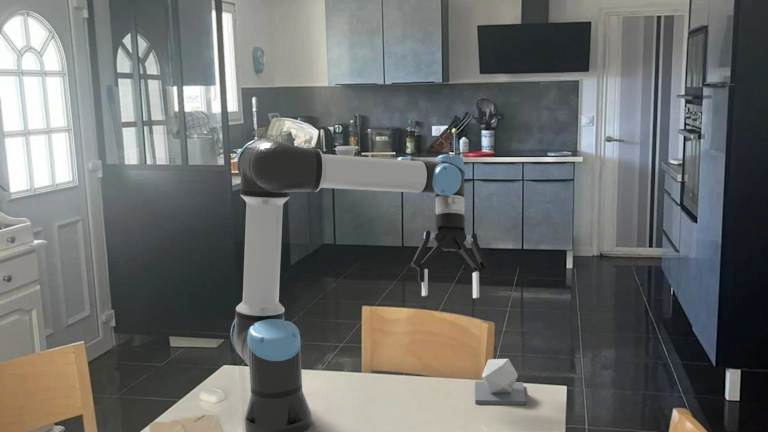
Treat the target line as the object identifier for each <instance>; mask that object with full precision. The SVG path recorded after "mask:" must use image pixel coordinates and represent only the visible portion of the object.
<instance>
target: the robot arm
mask: <svg viewBox="0 0 768 432" xmlns="http://www.w3.org/2000/svg"><path fill="white" fill-rule="evenodd" d="M236 159H237V160H236V167H237V169H236V170H237V172H238V175H239V177H240V185H239V186H240V191H239V193H240V194H239V196H240V197H241V198H242V199H243V200H244V201H245V203H246V208H245V231H244V233H245V236H244V260H243V280H242V281H243V284H242V286H243V287H242V301H241V302H240V303H239V304H238V305H236V307H235V318H234V320H233V322H232V324H231V328H230V341H231V343H232V346H233V349H234V350H235V352H236V353H237V354H238V356H240V357H241V358H242V360H244V362H245V363H246V364H247V366H248V368H249V369H248V370H249V383H250V397H249V401H248V404H247V408H246V412H245V415H244V430H245V431H246V432H305V431H306V430H307V429H308V428H310V427H311V425H312V413H311V412H312V411H311V409H310V406H309V404H308V402H307V398H306V396H305V392H304V391H303V378H302V375H303V373H302V353H301V350H302V348H301V345H302V341H301V340H302V339H301V336H300V331H299V328H298V326H296V325H295V324H294V323H293V322H291V321H288V320H285V310H286V309H285V307H284V306H283V305H282V304H281V303H280V300H279V298H280V279H281V277H280V276H281V275H280V274H281V258H282V257H281V255H282V236H283V235H282V234H283V211H284V210H283V209H284V204H285V203H286V202H287V201H288V200H289V199H290V198H291V197H290V196H291V193H294V192H296V193H298V192H311V193H314V192H315V193H317V192H318V191H319V190H320V189H321V188H323V189H326V188H327V189H341V190H343V189H345V190H360V191H361V190H362V191H363V190H365V191H367V190H368V191H380V192H381V191H384V192H386V191H387V192H399V193H400V192H401V193H402V192H404V193H405V192H406V193H419V194H420V193H421V194H434V195H435V214H436V215H435V231H434V232H432V231H430V230H426V231H424V232H423V235H422V241H421V243H420V245H419V247H418V249H417V251H416V253H415V255H414V257H413V259H412V261H411V263H410V267H411V268H415V269H416V270H417V280H418V283H421V297H427V296H428V294H429V289H428V288H429V287H428V286H429V285H428V284H429V283H428V282H429V280H428V278H429V276H428V274H429V271H428V269H429V268H428V269H427V268H426V266H428V264H429V263H430V262H431V261H433V258H434V257H435V256H436V255H437V254H438V253H439V251H441V250H443V251H452V252H456V251H458V253H459V254H461V255H462V256H463V258H464V259H465V260H466V262H467V263H468V264H469V265H470V267H471V268H472V270H473V271H474V272H472V299H478V298H480V286H481V285H483V273H484V271H487V270H489V269H490V265H489V263H488V260H487V259H486V256H485V254H484V251H483V250H482V248H481V246H480V244H479V242H478V236H477V233H475V232H473V233H472V234H466V232H465V231H466V224H465V223H466V221H465V220H466V216H465V215H464V214H465V213H466V212H465V211H466V210H465V174H466V173H465V163H464V159H463V157H462V156H460V155H457V154H441V155H439V156H436V158H435V161H433V160H432V161H431V160H428V159H427V160H426V159H420V158H414V157H410V156H409V157H407V156H400V157H398V158H396V159H393V158H381V157H380V158H379V157H365V156H352V155H340V154H339V155H338V154H327V153H326V154H325V153H323V152H322V151H321V150H320V149H317V148H310V147H309V148H308V147H302V146H300V145H299V146H297V145H294V144H292V143H288V142H285V141H282V140H281V141H280V140H275V139H272V138H265V137H264V138H258V139H257V138H256V139H254V140H251V141H248V143H246V144H245V145H244V146H243V147H242V148H241V150H240V151H239V153H238V155H237V158H236ZM433 239H434V240H435V242H436V245H434V247H433V249H431V251H430V252H429V253H428V254H427V255H426V256H425V258H424V259H423V260H422V261H421V259H422V257H423V255H424V254H425V251H426V248H427V247H428V245H429V243H430V242H431V241H432V240H433ZM466 241H467V242H468V243H469V244H470V248H471V249H472V251H473V253H474V255H475V257H474V256H473V254H472V253H471V251H470V250H469V249H468V247H467V245H466V244H465V242H466ZM420 261H421V262H420Z"/></svg>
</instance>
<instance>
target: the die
mask: <svg viewBox="0 0 768 432" xmlns="http://www.w3.org/2000/svg"><path fill="white" fill-rule="evenodd" d="M516 371H517V370H516V369H515V367H514V366H513V363H511V360H510V358H497V359H496V358H492V359H488V360H487V362H486V364H485V367H484V369H483V371H482V373H481V377H480V378H481V379H482V380H483V381H482V382H485V384H486V386H487V388H488V390H489V392H490V393H511V391H512V389H513V386H514V384H515V382H517V378H518V376H519V375H518V373H517V372H516Z"/></svg>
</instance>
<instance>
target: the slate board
mask: <svg viewBox="0 0 768 432" xmlns="http://www.w3.org/2000/svg"><path fill="white" fill-rule="evenodd" d="M474 394H475V395H474V397H475V399H474V401H475V405H507V406H508V405H511V406H512V405H518V406H519V405H520V406H521V405H523V406H526V405H527V400H526V399H527V398H526V393H525V388H524V381H515V384H514V386H513V389H512V391H511V393H490V392H489V390H488V388H487V386H486V384H485V382H484V381H480V380H479V381H475V382H474Z"/></svg>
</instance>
